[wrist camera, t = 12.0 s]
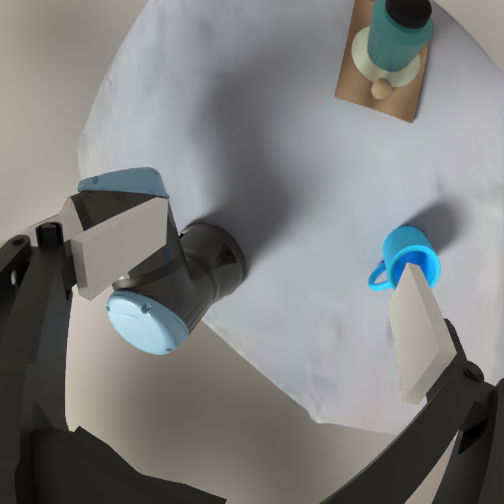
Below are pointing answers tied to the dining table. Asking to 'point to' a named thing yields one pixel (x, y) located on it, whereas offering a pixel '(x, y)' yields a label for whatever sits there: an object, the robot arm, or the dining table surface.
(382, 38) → the beverage bottle
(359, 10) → the wooden board with pegs
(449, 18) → the dining table surface
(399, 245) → the mug
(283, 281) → the dining table surface
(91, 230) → the robot arm
